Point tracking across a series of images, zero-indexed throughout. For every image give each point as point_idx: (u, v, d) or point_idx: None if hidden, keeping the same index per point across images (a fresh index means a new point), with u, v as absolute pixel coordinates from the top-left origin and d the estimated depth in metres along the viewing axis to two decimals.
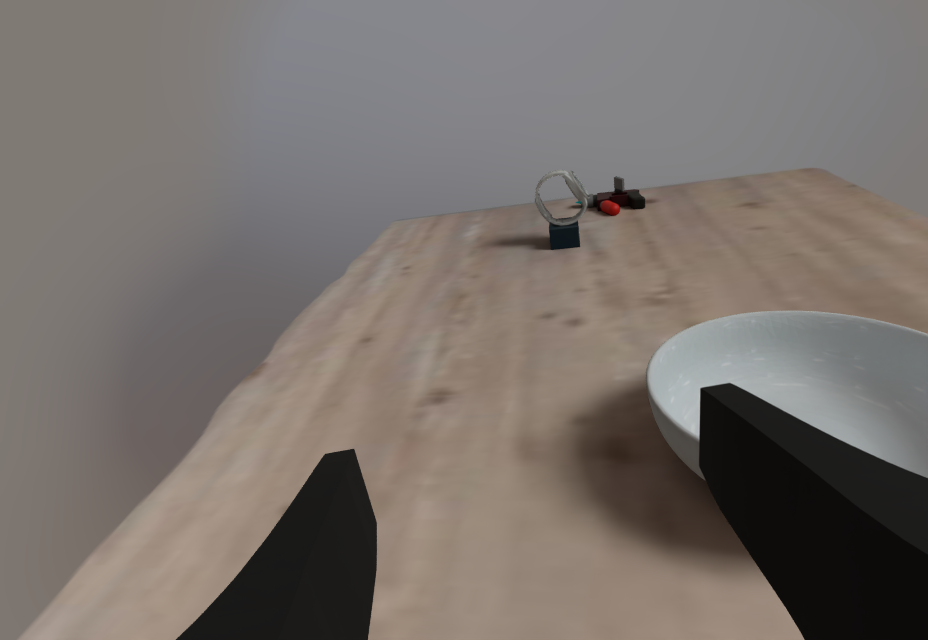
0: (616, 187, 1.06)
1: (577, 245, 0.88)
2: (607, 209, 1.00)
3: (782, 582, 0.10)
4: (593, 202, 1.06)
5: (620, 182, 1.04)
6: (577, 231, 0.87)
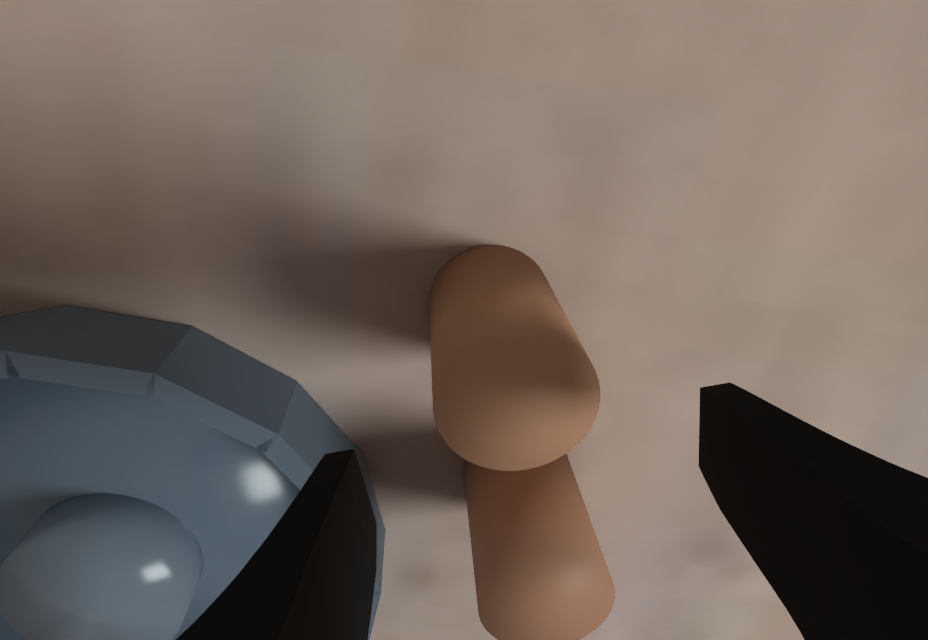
0: None
1: None
2: None
3: (782, 582, 0.10)
4: None
5: None
6: None
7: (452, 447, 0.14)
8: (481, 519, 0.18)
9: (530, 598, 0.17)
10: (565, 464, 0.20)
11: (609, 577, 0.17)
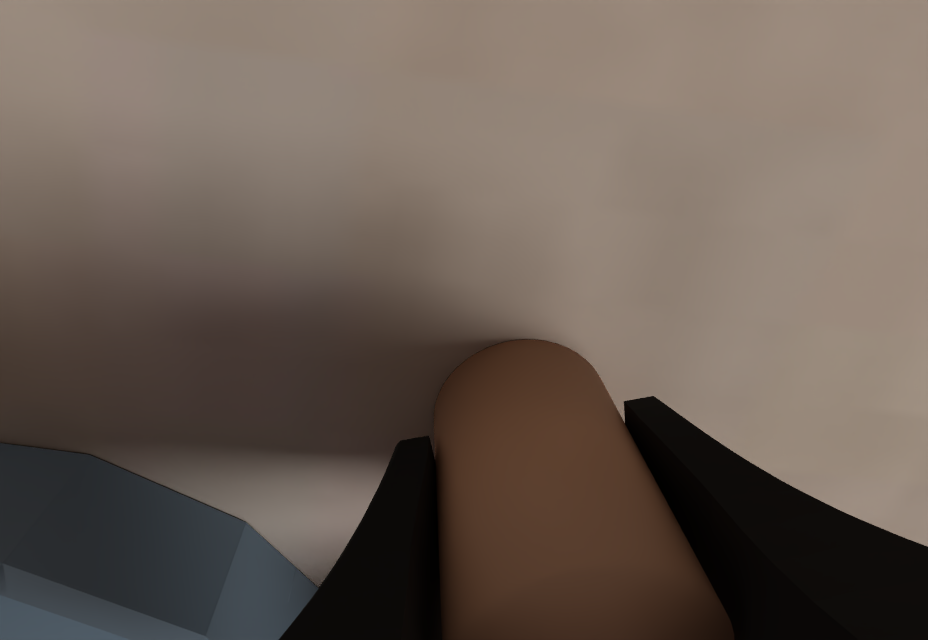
0: None
1: None
2: None
3: None
4: None
5: None
6: None
7: None
8: None
9: None
10: None
11: None
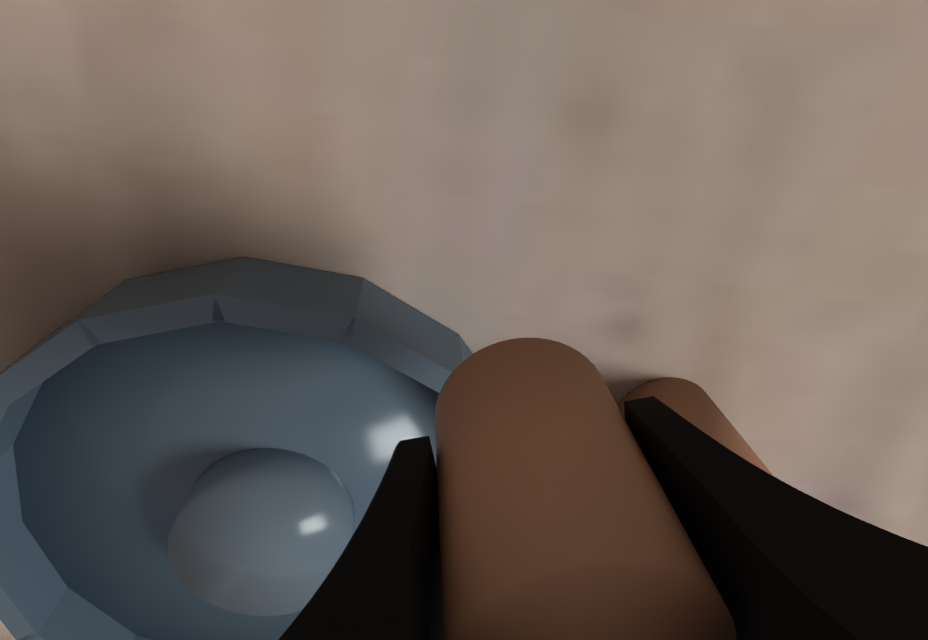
0: None
1: None
2: None
3: None
4: None
5: None
6: None
7: None
8: None
9: None
10: (723, 414, 0.21)
11: None
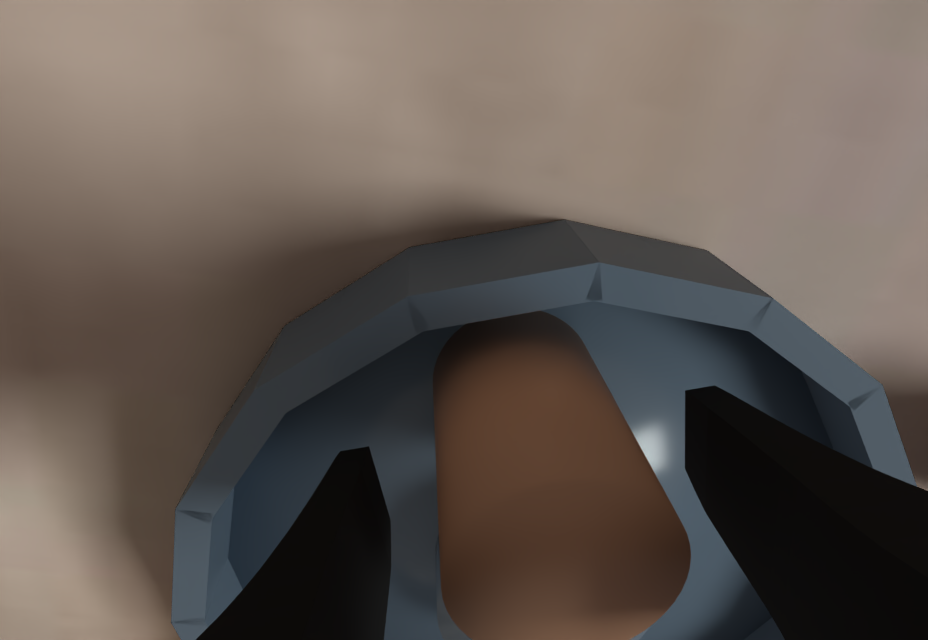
0: None
1: None
2: None
3: (764, 585, 0.10)
4: None
5: None
6: None
7: (469, 634, 0.10)
8: None
9: None
10: None
11: None
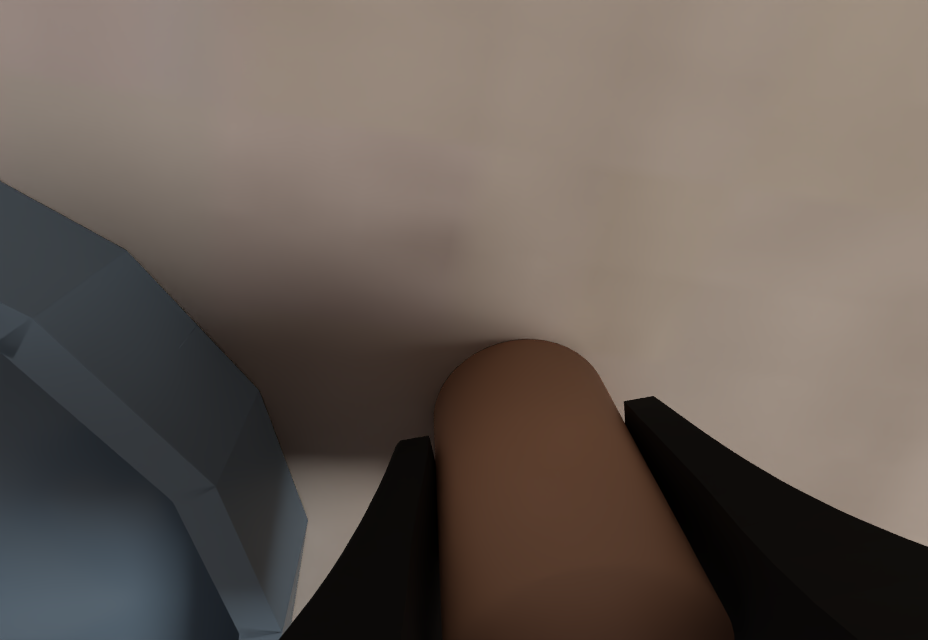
0: None
1: None
2: None
3: None
4: None
5: None
6: None
7: None
8: (456, 499, 0.10)
9: None
10: (610, 403, 0.11)
11: (726, 617, 0.08)
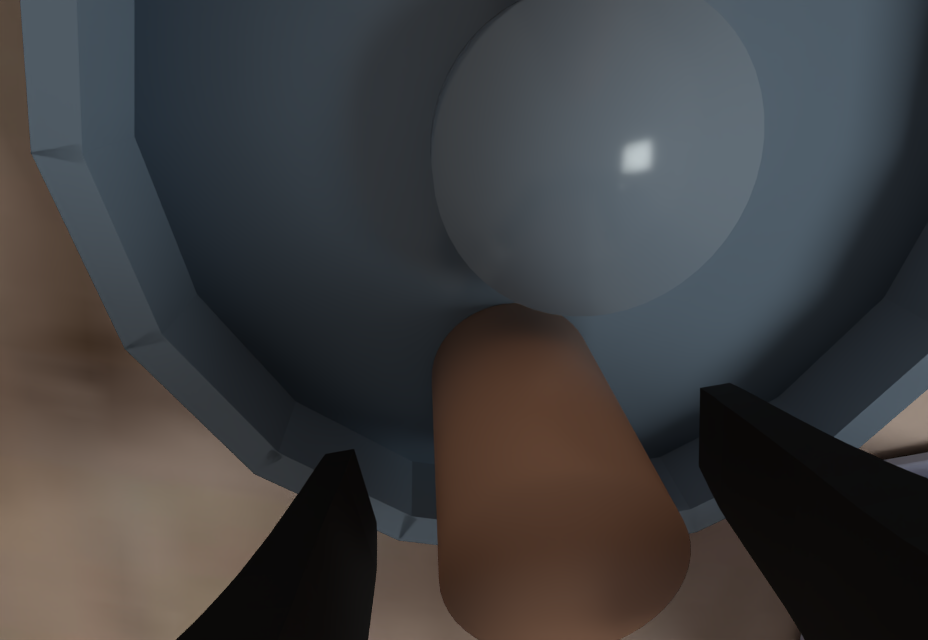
0: None
1: None
2: None
3: (781, 582, 0.10)
4: None
5: None
6: None
7: None
8: (453, 430, 0.11)
9: (536, 562, 0.09)
10: (592, 359, 0.13)
11: (684, 526, 0.09)
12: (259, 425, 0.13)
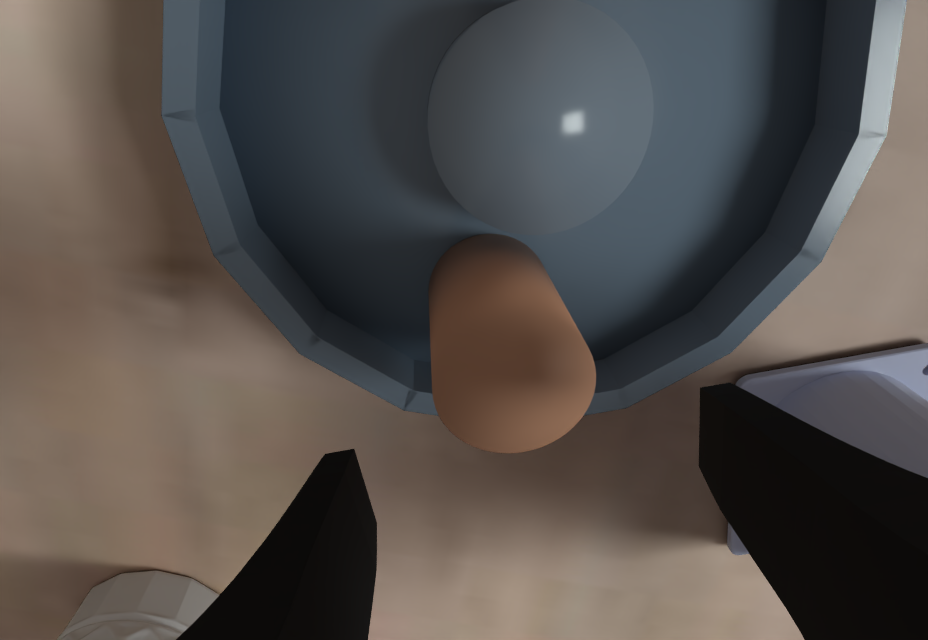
0: None
1: None
2: None
3: (782, 582, 0.10)
4: None
5: None
6: None
7: None
8: (442, 307, 0.16)
9: (494, 378, 0.14)
10: (544, 270, 0.18)
11: (590, 354, 0.14)
12: (304, 317, 0.18)
